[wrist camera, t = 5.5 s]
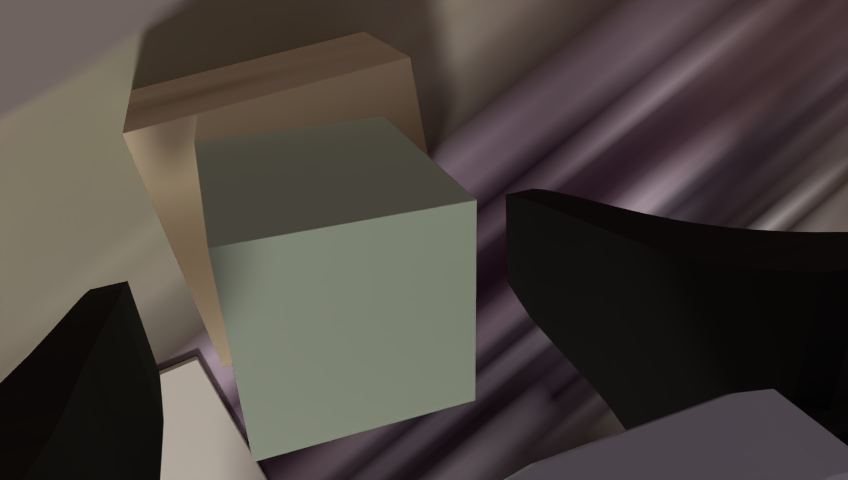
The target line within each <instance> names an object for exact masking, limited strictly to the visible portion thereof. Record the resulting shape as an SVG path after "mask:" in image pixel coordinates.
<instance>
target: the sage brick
mask: <svg viewBox="0 0 848 480" xmlns="http://www.w3.org/2000/svg"><path fill="white" fill-rule="evenodd" d="M194 146H195V154H196V161H197V169H198V176H199V184H200V192H201V199H202V207H203V214H204V222H205V230H206V237H207V245H208V251H209V256H210V260H211V265H212V270H213V275H214V279H215V284H216V289H217V294H218V298H219V303H220V308H221V313H222V317H223V322H224V327H225V332H226V336H227V341H228V346H229V351H230V355H231V360H232V365H233V369H234V374H235V379H236V384H237V388H238V393H239V398H240V403H241V407H242V412H243V417H244V422H245V426H246V431H247V436H248V441H249V445H250V450H251V455H252V460H253V462H256V461H259V460H263V459H266V458H270V457H273V456H277V455H281V454H284V453H288V452H291V451H295V450H299V449H302V448H306V447H309V446H313V445H317V444H320V443H324V442H327V441H331V440H335V439H338V438H342V437H345V436H349V435H353V434H356V433H360V432H363V431H367V430H371V429H374V428H378V427H381V426H385V425H388V424H392V423H396V422H399V421H403V420H406V419H410V418H414V417H417V416H421V415H424V414H428V413H432V412H435V411H439V410H442V409H446V408H450V407H453V406H457V405H460V404H464V403H468V402H471V401H475V359H476V224H477V200H476V199H475V198H474V197H473V196H472V195H470V194H469V193H468V192H467V191H466V190H465V189H464V188H463V187H462V186H460V185H459V184H458V183H457V182H456V181H455V180H454V179H453V178H452V177H450V176H449V175H448V174H447V173H446V172H445V171H444V170H443V169H442V168H440V167H439V166H438V165H437V164H436V163H435V162H434V161H433V160H432V159H430V158H429V157H428V156H427V155H426V154H425V153H424V152H423V151H422V150H420V149H419V148H418V147H417V146H416V145H415V144H414V143H413V142H412V141H410V140H409V139H408V138H407V137H406V136H405V135H404V134H403V133H402V132H401V131H399V130H398V129H397V128H396V127H395V126H394V125H393V124H392V123H391V122H389V121H388V120H387V119H386V118H385V117H384V116H381V117H374V118H366V119H358V120H351V121H343V122H336V123H328V124H321V125H313V126H305V127H298V128H290V129H283V130H275V131H267V132H260V133H252V134H245V135H237V136H230V137H222V138H214V139H207V140H199V141H194Z"/></svg>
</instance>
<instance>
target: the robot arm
mask: <svg viewBox="0 0 848 480" xmlns="http://www.w3.org/2000/svg"><path fill="white" fill-rule="evenodd" d="M506 228H507V281H508V283H509V285H510V286H511V288H512V289H513V291H514V293H515V294H516V296H517V298H518V299H519V301H520V302H521V304H522V305H523V307H524V308H525V310H526V311H527V313H528V314H529V316H530V317H531V318H532V319H533V321H534V322H535V323H536V324H537V325H538V326H539V327H540V329H541V330H542V331H543V332H544V333H545V334H546V335H547V336H548V338H549V339H550V340H551V341H552V342H553V343H554V344H555V345H556V347H557V348H558V349H559V350H560V351H561V352H562V353H563V354H564V355H565V356H566V358H567V359H568V360H569V361H570V362H571V363H572V364H573V365H574V366H575V368H576V369H577V370H578V371H579V372H580V373H581V374H582V375H583V376H584V377H585V379H586V380H587V381H588V382H589V383H590V384H591V385H592V386H593V387H594V389H595V390H596V391H597V392H598V393H599V395H600V396H601V397H602V398H603V399H604V401H605V402H606V403H607V404H608V406H609V407H610V408H611V410H612V411H613V412H614V414H615V415H616V417H617V418H618V419H619V421H620V422H621V424H622V425H623V426H624V428H625V429H626V430H625V431H623V432H620V433H617V434H614V435H611V436H609V437H606V438H603V439H600V440H597V441H595V442H592V443H589V444H586V445H583V446H580V447H578V448H575V449H572V450H569V451H566V452H564V453H561V454H558V455H555V456H552V457H550V458H547V459H544V460H541V461H538V462H536V463H533V464H531V465H529V466H527V467H525V468H524V469H522V470H520V471H518V472H516V473H515V474H513V475H511V476H509V477H508V478H506V479H504V480H848V232H784V231H767V230H751V229H739V228H729V227H721V226H713V225H706V224H698V223H691V222H685V221H679V220H674V219H669V218H664V217H659V216H654V215H649V214H644V213H640V212H636V211H631V210H627V209H623V208H619V207H615V206H611V205H607V204H603V203H599V202H595V201H591V200H587V199H583V198H579V197H575V196H571V195H567V194H563V193H558V192H553V191H548V190H542V189H529V190H525V191H521V192H516V193H512V194H507V195H506ZM163 428H164V417H163V403H162V392H161V381H160V373H159V370H158V367H157V365H156V362H155V359H154V356H153V353H152V350H151V347H150V344H149V342H148V339H147V336H146V333H145V330H144V327H143V324H142V321H141V319H140V316H139V313H138V310H137V307H136V304H135V301H134V298H133V296H132V293H131V290H130V287H129V284H128V281H126V282H121V283H117V284H113V285H108V286H104V287H100V288H95V289H91V290H89V291H88V292H87V293H85V294H84V295H83V296H82V297H81V298H80V300H79V301H78V302H77V303H76V304H75V305H74V306H73V307H72V308H71V309H70V311H69V312H68V313H67V314H66V315H65V316H64V317H63V318H62V320H61V321H60V322H59V323H58V324H57V325H56V326H55V327H54V328H53V330H52V331H51V332H50V333H49V334H48V335H47V336H46V337H45V338H44V339H43V341H42V342H41V343H40V344H39V345H38V346H37V347H36V348H35V349H34V350H33V351H32V352H31V354H30V355H29V356H28V357H27V358H26V359H24V360H23V361H22V362H21V363H20V364H19V365H18V366H17V367H16V368H15V369H14V370H13V371H12V372H11V373H10V374H9V375H8V376H7V377H6V378H5V379H4V380H3V381H2V382H1V383H0V480H160V475H161V461H162V445H163Z"/></svg>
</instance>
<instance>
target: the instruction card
mask: <svg viewBox="0 0 848 480" xmlns="http://www.w3.org/2000/svg"><path fill="white" fill-rule="evenodd" d="M159 373H160V381H161V392H162V403H163V417H164V428H163V445H162V461H161V475H160V480H267V478H266V476H265V474H264V473H263V471H262V469H261V467H260V466H259V464H258V462H257V461H256V462H253V460H252V455H251V450H250V448H249V446H248V445H247V443H246V441H245V439H244V438H243V436H242V434H241V432H240V431H239V429H238V427H237V425H236V424H235V422H234V420H233V418H232V417H231V415H230V413H229V411H228V410H227V408H226V406H225V404H224V403H223V401H222V399H221V397H220V396H219V394H218V392H217V390H216V389H215V387H214V385H213V383H212V382H211V380H210V378H209V376H208V375H207V373H206V371H205V369H204V368H203V366H202V364H201V362H200V361H199V359H198V357H197V356H195V357H192V358H190V359H188V360H185V361H183V362H180V363H178V364H176V365H173V366H171V367H168V368H166V369H164V370H161V371H159Z"/></svg>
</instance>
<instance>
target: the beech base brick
mask: <svg viewBox="0 0 848 480" xmlns="http://www.w3.org/2000/svg"><path fill="white" fill-rule="evenodd" d="M381 116H384V117H385V118H386V119H387V120H388V121H389V122H391V123H392V124H393V125H394V126H395V127H396V128H397V129H398V130H399V131H401V132H402V133H403V134H404V135H405V136H406V137H407V138H408V139H409V140H410V141H412V142H413V143H414V144H415V145H416V146H417V147H418V148H419V149H420V150H422V151H423V152H424V153H425V154H426V155H427V156H428V153H427V148H426V142H425V136H424V131H423V125H422V120H421V114H420V109H419V103H418V98H417V92H416V87H415V81H414V76H413V70H412V64H411V59H410V57H409V56H407V55H406V54H404V53H402V52H400V51H399V50H397V49H395V48H393V47H391V46H390V45H388V44H386V43H384V42H383V41H381V40H379V39H377V38H375V37H374V36H372V35H370V34H368V33H367V32H365V31H363V32H359V33H355V34H351V35H347V36H343V37H339V38H335V39H331V40H327V41H324V42H320V43H316V44H312V45H308V46H304V47H300V48H296V49H292V50H288V51H284V52H280V53H276V54H272V55H268V56H264V57H260V58H256V59H252V60H248V61H244V62H240V63H236V64H233V65H229V66H225V67H221V68H217V69H213V70H209V71H205V72H201V73H197V74H193V75H189V76H185V77H181V78H177V79H173V80H169V81H165V82H161V83H157V84H153V85H149V86H145V87H142V88H138V89H134V90H131V94H130V99H129V104H128V109H127V114H126V119H125V124H124V129H123V136H124V138H125V141H126V143H127V145H128V148H129V150H130V152H131V155H132V157H133V159H134V161H135V164H136V166H137V168H138V171H139V173H140V175H141V178H142V180H143V182H144V185H145V187H146V189H147V192H148V194H149V196H150V199H151V201H152V203H153V206H154V208H155V210H156V213H157V215H158V217H159V220H160V222H161V224H162V227H163V229H164V231H165V233H166V236H167V238H168V240H169V243H170V245H171V247H172V250H173V252H174V254H175V257H176V259H177V261H178V264H179V266H180V268H181V271H182V273H183V275H184V278H185V280H186V282H187V285H188V287H189V289H190V292H191V294H192V296H193V298H194V301H195V303H196V305H197V308H198V310H199V312H200V315H201V317H202V319H203V322H204V324H205V326H206V329H207V331H208V333H209V336H210V338H211V340H212V343H213V345H214V347H215V350H216V352H217V354H218V357H219V359H220V361H221V364H222V366H223V367H224V366H227V365H229V364H232V360H231V355H230V351H229V346H228V341H227V336H226V332H225V327H224V322H223V317H222V313H221V308H220V303H219V298H218V294H217V289H216V284H215V279H214V275H213V270H212V265H211V260H210V256H209V251H208V245H207V237H206V230H205V222H204V214H203V207H202V199H201V192H200V184H199V176H198V169H197V161H196V154H195V146H194V141H199V140H207V139H214V138H222V137H230V136H237V135H245V134H252V133H260V132H267V131H275V130H283V129H290V128H298V127H305V126H313V125H321V124H328V123H336V122H343V121H351V120H358V119H366V118H374V117H381Z"/></svg>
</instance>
